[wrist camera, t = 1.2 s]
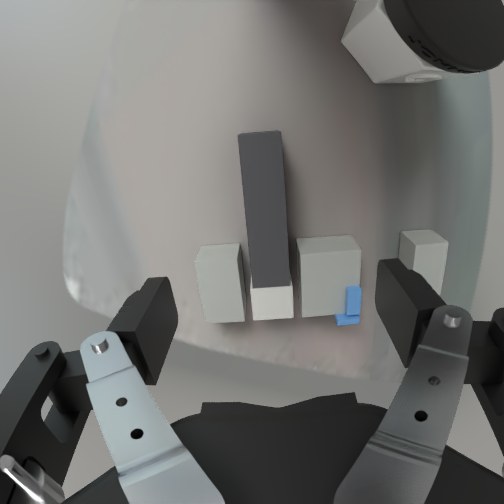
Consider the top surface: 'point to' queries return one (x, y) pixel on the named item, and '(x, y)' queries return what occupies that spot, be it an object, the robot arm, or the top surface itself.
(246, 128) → the top surface
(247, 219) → the tall dark pillar
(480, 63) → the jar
